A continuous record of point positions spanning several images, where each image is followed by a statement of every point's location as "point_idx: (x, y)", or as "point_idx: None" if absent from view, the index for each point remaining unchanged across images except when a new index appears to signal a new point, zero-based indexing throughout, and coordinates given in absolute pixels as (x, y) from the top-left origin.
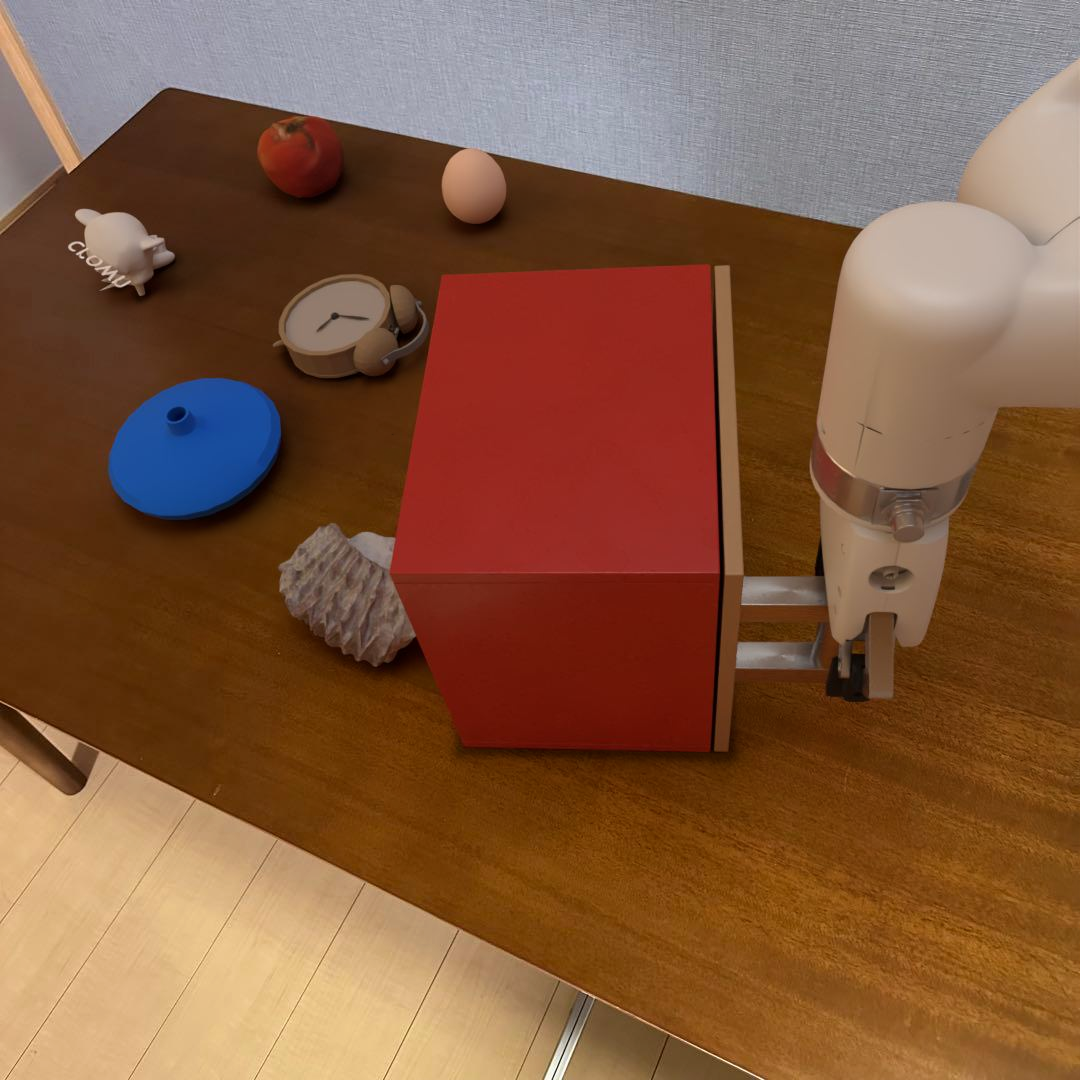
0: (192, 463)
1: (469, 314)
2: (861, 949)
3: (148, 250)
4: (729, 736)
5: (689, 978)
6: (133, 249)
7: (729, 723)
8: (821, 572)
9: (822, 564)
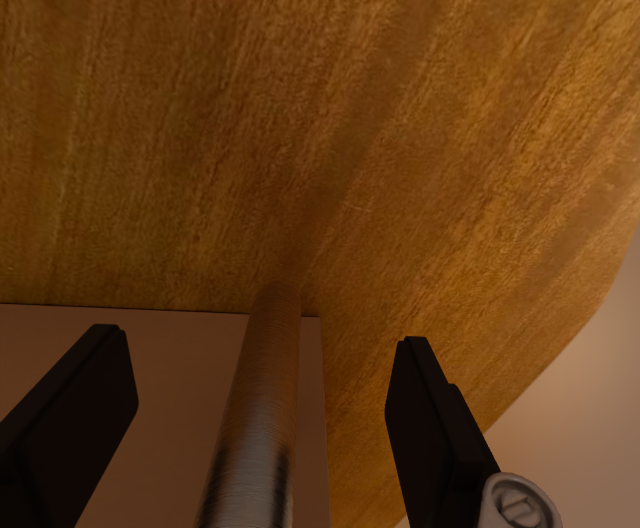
0: None
1: None
2: (533, 219)
3: None
4: (320, 339)
5: (516, 355)
6: None
7: (322, 364)
8: (126, 426)
9: (109, 455)
